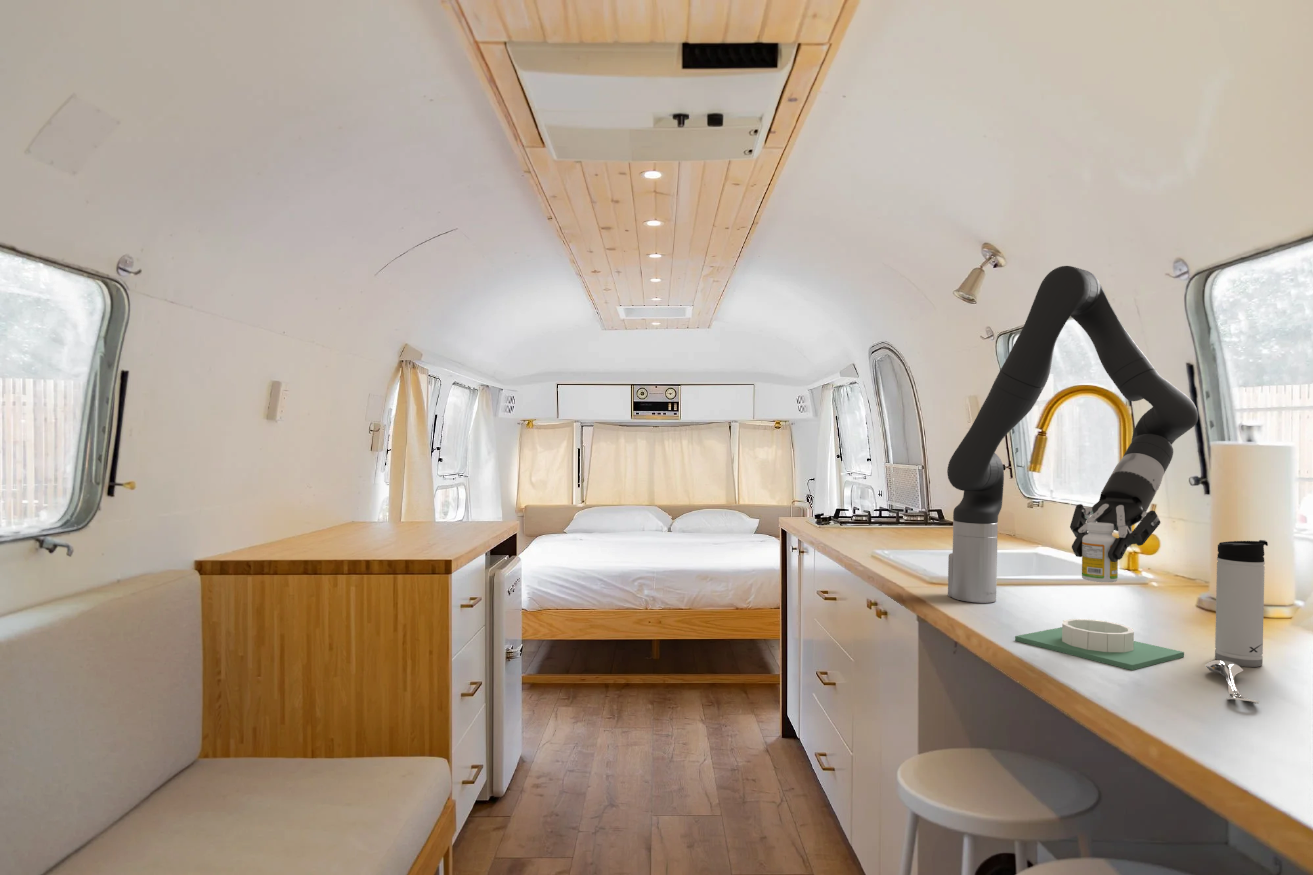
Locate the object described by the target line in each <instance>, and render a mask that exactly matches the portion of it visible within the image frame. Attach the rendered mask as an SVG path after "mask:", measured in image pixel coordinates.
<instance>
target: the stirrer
mask: <svg viewBox="0 0 1313 875" xmlns="http://www.w3.org/2000/svg"><path fill="white" fill-rule="evenodd" d="M1204 666H1205V667H1206V668H1207V670H1209V671H1210V672H1211V673H1214V674H1221V675H1222V676H1223V677H1224V678H1225V679H1226V682H1227V687H1228V694H1229V696H1228V697H1226V700H1227V701H1229V700H1237V701H1244V702H1248V703H1251V704H1254V705H1258V704H1260V701H1259V700H1255V699H1250V698H1247V697H1244V696H1243V695H1241V693H1240V692H1239V689H1238V688H1237V685H1236V684H1235V683H1236V682H1235V677H1236V675H1238V674H1240V673H1242V672H1244V669H1243V667H1242V666H1239V665H1237V664H1235V663H1233V662H1229V661H1223V660H1217V659H1216V660H1212V661H1209V662H1207V663H1206V664H1205V665H1204Z"/></svg>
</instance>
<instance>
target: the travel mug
mask: <svg viewBox="0 0 1313 875" xmlns="http://www.w3.org/2000/svg"><path fill="white" fill-rule="evenodd" d="M1265 546H1266V547H1268V546H1269V543H1268V541H1267V540H1265V539H1260V540H1233V541H1221V542H1219V543H1218V544H1217V556H1216V557H1217V558H1216V561H1217V563H1216V590H1215V592H1216V596H1215V603H1216V604H1215V634H1214V635H1215V637H1214V638H1215V640H1214V642H1215V643H1214V644H1215V645H1214V647H1215V649H1214V658H1215V659H1216V660H1223V661H1229V662H1233V663H1235V664H1237V665H1239V666H1240V667H1242V668H1244V667H1245V668H1258V667H1261V666H1263V658H1264V657H1263V654H1264V617H1265V616H1264V613H1265V612H1264V611H1265V608H1264V607H1265V606H1264V605H1265V570H1266V569H1265V564H1266V561H1265V557H1264V556H1265V548H1264V547H1265Z"/></svg>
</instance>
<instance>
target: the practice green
mask: <svg viewBox="0 0 1313 875" xmlns="http://www.w3.org/2000/svg"><path fill="white" fill-rule="evenodd" d="M1134 634H1135V632H1134V629H1133V628H1132V627H1131V626H1127V625H1124V624H1121V623H1117V622H1111V621H1107V620H1096V619H1089V618H1071V619H1065V620H1062V627H1056V628H1052V629H1051V628H1050V629H1046V630H1045V629H1044V630H1040V631H1035V632H1031V633H1023V634H1019V635H1018V634H1017V635H1015V636H1014V637H1015V638H1014V641H1016V642H1020V643H1023V644H1027V645H1031V646H1035V647H1039V648H1043V649H1047V650H1050V651H1053V652H1054V651H1055V652H1059V653H1062V654H1067V655H1070V656H1074V657H1078V658H1082V659H1087V660H1091V661H1095V662H1099V663H1103V664H1107V665H1111V666H1115V667H1118V668H1123V669H1126V670H1130V671H1134V670H1139V669H1142V668H1143V669H1144V668H1147V667H1150V666H1154V665H1157V664H1162V663H1165V662H1169V661H1174V660H1177V659H1181V658H1184V657H1185V652H1184V651H1181V650H1176V649H1172V648H1167V647H1163V646H1159V645H1156V644H1155V645H1154V644H1150V643H1147V642H1146V643H1144V642H1140V641H1136V640H1135V635H1134Z"/></svg>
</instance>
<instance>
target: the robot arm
mask: <svg viewBox="0 0 1313 875" xmlns="http://www.w3.org/2000/svg"><path fill="white" fill-rule="evenodd" d="M1070 317H1071V318H1072V320H1074V321H1075V322H1076V323H1077V324H1078V325H1079V326H1080V327H1081V328H1082V329H1083V330H1084V332H1085V333H1086V334H1087V336H1088V337H1089V339H1090V340H1091V342H1092V344H1093V347H1094V349H1095V351H1096V354H1097V356H1098V358H1099V361H1100V363H1101V365H1102V367H1103V369H1104V371H1105V372H1106V373H1107V375H1108V377H1109V378H1110V380H1111V381H1112V382H1113V383H1114V385H1115V386H1116V388H1117V389H1118V391H1119V392H1120V394H1122V396H1123V397H1124V398H1125V399H1126V400H1127V401H1130V402H1138V401H1142V400H1145V401H1146V402H1147V403H1149V404H1150V405H1151V406H1152V407H1151V408H1150V409H1149V410H1147V411H1146V412H1144V413H1143V415H1141V417H1140V418H1139V420H1138V421H1137V423H1136V425H1135V427H1134V430H1133V433H1132V436H1131V442H1130V443H1129V445H1128V447H1127V449H1126V451H1125V452H1124V453H1123V455H1122V458H1121V459H1120V460H1119V461H1118V463H1117V464H1116V465H1115V467H1114V469H1113V471H1112V473H1111V475H1110V476H1109V478H1108V479H1107V482H1106V483H1105V485H1104V487H1103V489H1102V490H1101V493H1100V496H1099V500H1098V501H1097V502H1096V503H1095V504H1094V505H1092V506H1086V507H1085V506H1084V505H1083V504H1082V503H1080V504H1076V506H1075V508H1074V510H1073V511H1074V512H1073V514H1072V518H1071V522H1070V526H1069V528H1070V530H1071V531H1072V533H1073V535H1074V537H1075V539H1074V541H1073V543H1072V544H1071V550H1072V552H1073V554H1074V555H1075V557H1077V558H1082V538H1083V537H1084V536H1085V535H1088V531H1087V523H1089V522H1099V523H1110V524H1114V531H1116V532H1118V537H1115V538H1116V539H1115V541H1114V543H1113V544H1112V546H1111V548H1110V550H1109V552H1108V557H1109V558H1110V560H1111V562H1117V561H1118V562H1119V560H1122V559H1123V557H1124V556H1125V553H1126V551H1127V549H1128V548H1129V547H1131V546H1132V545H1136V546H1140V547H1141V546H1143V545H1145V543H1146V542H1147V540H1148V539H1149V538H1150V537H1151V536H1152V535H1153V533H1154V532H1155V531H1156V529H1158V527H1159V526H1160V524H1162V523H1161V522H1162V521H1161V520H1160V518H1159V516H1158V514H1157V512H1156V511H1155V510H1149V511H1148V509H1149V507H1150V505H1151V503H1152V502H1153V500H1154V498H1155V495H1156V494H1157V492H1158V490H1159V489H1160V486H1161V484H1162V481H1163V478H1164V475H1165V473H1166V472H1167V470H1168V467H1169V466H1170V464H1171V463H1172V462H1171V461H1172V460H1173V456H1174V448H1173V444H1174V443H1175V442H1176V440H1178V439H1180V437H1182V436H1183V435H1184V434H1186V433H1188V431H1190V430H1191V429H1192V428H1194V427H1195V426H1196V424H1198V420H1199V412H1198V408H1197V407H1196V404H1195V402H1194V401H1193V400H1192V399H1191V398H1190V397H1188V395H1187V394H1185V393H1184V392H1183V391H1182V390H1180V389H1179V388H1178V387H1176V386H1175V385H1174V384H1173V383H1171V382H1170V381H1169V380H1167V379H1166V378H1164V377H1163V376H1161V375H1160V374H1159V372H1158V371H1157V369H1156V368H1155V367H1154V365H1153V364H1152V362H1150V360H1149V359H1148V357H1147V356H1146V355H1145V354H1144V352H1143V351H1142V350H1141V349H1140V347H1139V346H1138V344H1137V343H1136V342H1135V341H1134V340H1133V337H1132V336H1131V335H1130V334H1129V333H1128V331H1127V330H1126V328H1125V327H1124V326H1123V324H1122V322H1121V321H1120V319H1119V318H1118V315H1117V314H1116V312H1115V310H1114V309H1113V306H1112V305H1111V303H1110V300H1109V299H1108V297H1107V295H1106V292H1105V291H1104V289H1103V286H1102V285H1101V282H1100V281H1099V279H1098V278H1097V276H1096V275H1095V274H1094V273H1092V272H1090V271H1089V270H1086V269H1082V268H1079V267H1076V266H1073V265H1072V266H1071V265H1062V266H1059V267H1055V268H1054V269H1052V270H1051V271H1049V272H1048V273H1047V275H1046V276H1045V277H1044V278H1043V280H1042V282H1041V283H1040V285H1039V288H1038V289H1037V292H1036V294H1035V297H1034V299H1033V302H1032V305H1031V308H1030V310H1029V313H1028V314H1027V317H1026V319H1025V322H1024V324H1023V327H1022V329H1021V331H1020V333H1019V334H1018V337H1017V339H1016V340H1015V341H1014V343H1013V346H1012V347H1011V350H1010V352H1009V353H1008V356H1007V357H1006V359H1005V361H1004V363H1003V365H1002V367H1001V368H1000V370H999V372H998V373H997V376H996V378H995V379H994V381H993V384H992V386H991V388H990V389H989V390H990V391H989V392H988V394H987V396H986V398H985V399H984V402H983V404H982V405H981V407H980V409H979V411H978V413H977V415H976V416H975V419H974V421H973V423H972V424H971V426H970V428H969V429H968V431H967V433H966V434H965V436H964V437H963V439H962V440H961V442H960V444H959V445H958V446H957V448H956V449H955V451H954V452H953V454H952V455H951V458H950V459H949V462H948V464H947V465H948V466H947V472H946V473H947V479H948V481H949V483H950V484H951V486H952V487H953V488H955V489H956V490H958V491H963V496H962V499H961V501H960V502H959V504H958V505H957V506H955V507H954V509H953V515H952V516H953V517H952V520H953V522H952V552H951V553H949V554H948V560H947V561H948V563H947V564H948V567H947V568H948V569H947V571H948V572H947V573H948V574H947V575H948V576H947V597H951V598H952V599H954V600H958V601H962V602H967V603H984V604H985V603H986V604H987V603H988V604H989V603H994V602H996V601H997V581H998V580H997V578H998V532H999V531H998V529H999V528H998V525H999V515H1000V512H1001V510H1002V506H1003V497H1004V485H1005V483H1004V481H1005V473H1004V472H1005V470H1004V465H1003V464H1004V463H1003V462H1002V460H1001V458H1000V456H999V455H998V454H997V453H996V450H997V449H998V448H999V446H1000V444H1001V442H1002V441H1003V439H1004V438H1005V437H1006V436H1007V434H1009V433H1010V432H1011V430H1012V429H1014V428H1015V427H1016V426H1017V425H1018V424H1019V423H1020V422H1021V421H1022V420H1023V419H1024V418H1025V417H1026V416H1027V415H1028V413H1030V412H1031V411H1032V409H1033V408H1034V406H1035V405H1036V403H1037V401H1038V399H1039V397H1040V395H1041V394H1042V391H1043V390H1044V388H1045V386H1046V384H1047V382H1048V380H1049V376H1050V373H1051V369H1052V362H1053V356H1054V350H1055V347H1056V346H1055V345H1056V343H1057V340H1058V338H1059V335H1060V334H1061V332H1062V330H1063V328H1064V327H1065V325H1066V323H1067V322H1068V320H1069V318H1070ZM1147 511H1148V512H1147ZM1135 525H1136V527H1135V528H1134V529H1133V526H1135Z"/></svg>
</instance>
